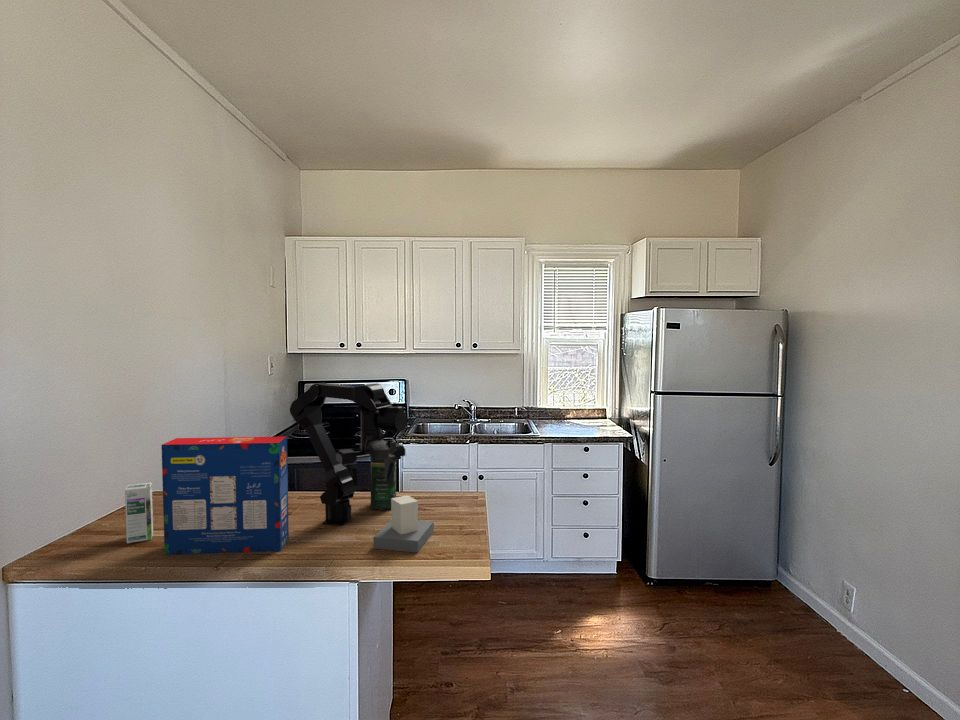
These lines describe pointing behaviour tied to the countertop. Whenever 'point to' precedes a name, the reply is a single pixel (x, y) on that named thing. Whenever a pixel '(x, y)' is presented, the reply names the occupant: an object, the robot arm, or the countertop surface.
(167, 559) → the countertop surface
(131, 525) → the syrup box
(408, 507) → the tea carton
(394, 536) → the podium
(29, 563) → the countertop surface
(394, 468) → the coffee jar
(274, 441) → the blue cardboard box
